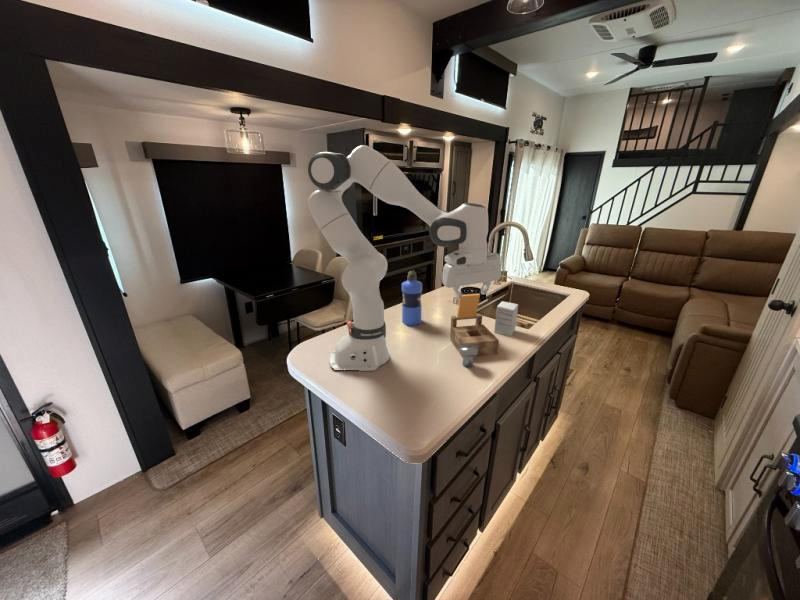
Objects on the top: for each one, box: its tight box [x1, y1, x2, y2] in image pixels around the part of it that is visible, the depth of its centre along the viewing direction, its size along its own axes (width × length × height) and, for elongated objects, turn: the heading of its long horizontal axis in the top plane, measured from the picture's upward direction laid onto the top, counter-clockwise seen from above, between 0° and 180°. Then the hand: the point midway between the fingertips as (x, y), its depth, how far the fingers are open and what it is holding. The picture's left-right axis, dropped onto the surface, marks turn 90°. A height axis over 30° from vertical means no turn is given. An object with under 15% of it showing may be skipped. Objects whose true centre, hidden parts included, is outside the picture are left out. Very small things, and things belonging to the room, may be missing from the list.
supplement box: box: [493, 300, 519, 337], centre depth 134 cm, size 7×7×13 cm
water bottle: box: [401, 269, 423, 327], centre depth 142 cm, size 9×9×25 cm
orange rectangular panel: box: [456, 293, 481, 321], centre depth 126 cm, size 8×12×1 cm
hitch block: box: [449, 313, 500, 359], centre depth 123 cm, size 14×16×10 cm
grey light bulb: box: [459, 344, 478, 369], centre depth 110 cm, size 6×6×7 cm
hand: (471, 296), depth 104 cm, fingers open, 8 cm apart
